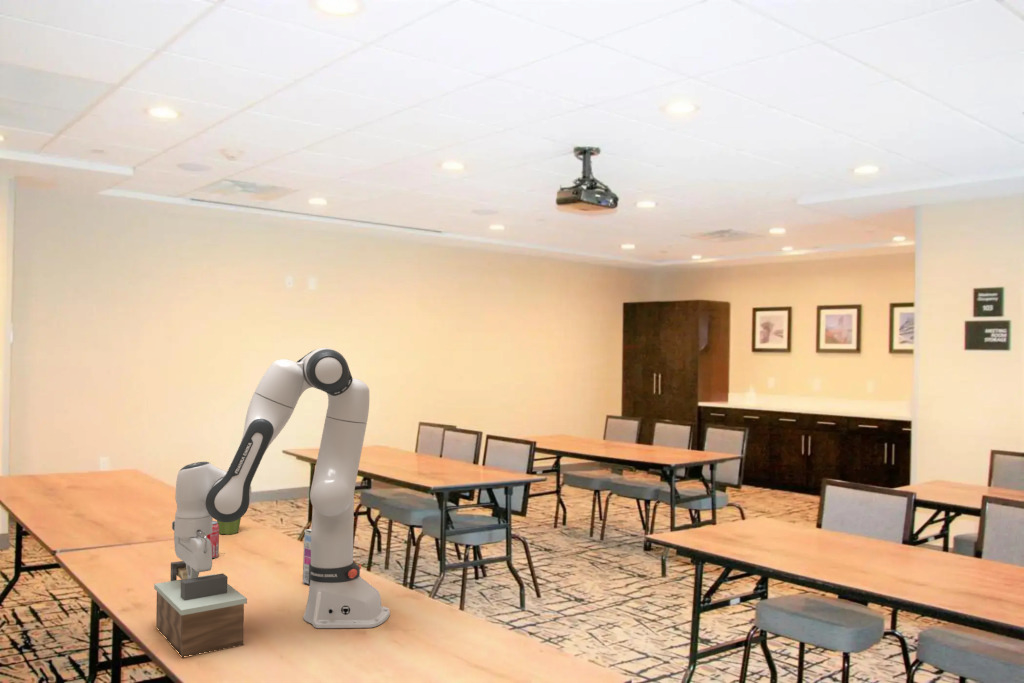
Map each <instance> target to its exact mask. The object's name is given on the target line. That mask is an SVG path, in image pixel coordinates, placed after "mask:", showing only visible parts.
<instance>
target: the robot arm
mask: <svg viewBox="0 0 1024 683" xmlns="http://www.w3.org/2000/svg"><path fill="white" fill-rule="evenodd" d="M310 388H314V389H316V390H320V391H321V392H324V393H326V394H327V399H328V403H327V409H326V412H325V418H324V423H323V429H322V435H321V438H320V445H319V449H318V453H317V459H316V464H315V466H314V468H315V469H314V473H313V477H312V482H311V487H310V492H309V499H310V503H311V505H312V513H311V514H312V516H311V528H310V529H311V563H310V564H309V571H308V579H309V585H310V586H309V585H308V586H309V587H308V589H309V590H308V596H307V602H306V607H305V610H304V613H303V620H304V621H305V622H307V623H308V624H312V626H313V627H314V628H315V629H348V628H349V629H350V628H351V629H353V628H354V629H355V628H359V629H363V628H365V629H366V628H367V629H368V628H369V629H370V628H375V627H377V626H380V625H382V624H383V623H385V622H386V621H387V620H388V618H390V616H391V614H390V608H389V607H387V606H382V599H381V594H380V591H379V590H378V589H377V588H376V587H374V586H373V585H372V584H370V583H369V582H368V581H367V580H365V579H364V578H363V577H361V575H360V574H361V569H362V564H361V563H360V564H359V565H358V564H357V563H356V562H355V561H354V521H355V520H354V517H355V515H354V514H355V513H354V512H355V489H356V485H357V478H358V474H359V472H358V471H359V467H360V463H361V462H360V461H361V456H362V450H363V446H364V440H365V436H366V435H365V434H366V430H367V425H368V420H369V419H368V418H369V412H370V388H369V386H368V385H367V384H366V382H364V381H362V380H361V379H359V378H354V377H353V376H352V374H351V370H350V367H349V364H348V362H347V360H346V358H345V356H344V355H343V354H341V352H339V351H336V350H335V349H333V348H328V347H320V348H317V349H314V350H311V351H310V352H308V353H307V354H305V355H304V356H303V357H301V358H300V359H298V360H297V361H294V360H291V359H286V358H281V359H276V360H274V361H273V362H272V363H271V365H269V367H268V368H267V369H266V371H265V372H264V374H263V376H262V377H261V379H260V380H259V383H258V384H257V386H256V388H255V390H254V392H253V394H252V396H251V399H250V401H249V405H248V408H247V411H246V415H245V416H246V417H245V421H244V428H243V433H242V437H241V441H240V442H239V446H238V448H237V450H236V452H235V454H234V456H233V459H232V461H231V463H230V465H229V467H228V469H227V471H226V470H223V469H220V468H219V467H216V466H215V465H213V464H212V463H211V462H209V461H198V462H194V463H190V464H186V465H184V466H182V467H181V469H180V470H179V471H178V473H177V477H176V482H175V499H174V500H175V503H176V512H175V515H174V520H173V521H172V522H171V529H172V531H173V537H174V538H173V541H174V552H175V555H176V557H177V558H178V559H180V561H184V562H185V563H186V569H187V573H188V579H191V578H198V577H199V576H200V575H199V574H200V573H202V572H203V573H205V572H210V571H211V570H212V568H213V559H212V546H211V541H210V540H209V539H208V538H207V535H209V534H211V533H212V522H213V521H214V520H215V521H217V520H218V521H220V522H233V521H236V520H238V519H240V518H241V519H242V517H243V516H244V515H245V514H246V513H247V512H248V509H249V506H250V499H251V496H252V486H251V484H252V482H253V479H254V477H255V475H256V472H257V471H258V468H259V465H260V464H261V461H262V459H263V458H264V455H265V453H266V452H267V450H268V448H269V447H270V446H271V444H272V443H273V442H274V440H276V438H277V437H278V435H279V434H280V433H281V432H282V430H283V429H284V428H285V427H286V426H287V424H288V422H289V420H290V418H291V416H292V415H293V413H294V411H295V408H296V407H297V404H298V402H299V399H300V398H301V397H302V395H303V393H304V392H306V390H308V389H310ZM213 519H214V520H213Z"/></svg>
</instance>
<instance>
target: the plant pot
mask: <svg viewBox="0 0 1024 683" xmlns="http://www.w3.org/2000/svg"><path fill="white" fill-rule="evenodd" d="M241 520H242V517H241V518H240V519H238V520H236V521H233V522H220V521H218V520H216V521H217V522H218V525H219V535H223V534H224V535H226V536H227V535H228V536H229V535H234V534H237V533H239V532H240V531H239V530H240V525H241Z"/></svg>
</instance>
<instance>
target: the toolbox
mask: <svg viewBox="0 0 1024 683" xmlns="http://www.w3.org/2000/svg"><path fill="white" fill-rule="evenodd" d="M184 566H186V563H185V562H184V561H182V560H180V561H173V562H170V581H175V580H178V579H177V577H178V576H177V567H184ZM155 612H156V613H155V614H156V619H155V620H156V623H155V628H156V627H157V628H158V629H159V631H160V632H161V633H162V634H163V635H164V636H165V637H166V638H167V640H168V641H169V642H170V643H171V645H172V646H173V647H174V648H175V649H176V650H177V651H178V652H179V654H180V655H181V656H182V657H184V656H189V655H195V656H197V655H196V654H199V653H204V652H208V653H210V652H209V651H213V652H215V651H214V650H217V651H220V650H219V649H222V650H224V649H223V648H227V649H230V648H229V647H231V648H234V647H233V646H236V647H240V646H244V626H245V624H244V618H245V616H244V615H245V604H240V605H235V606H229V607H224V608H219V609H213V610H208V611H203V612H197V613H192V614H187V615H180V614H179V613H178V612H177V611H176V610H175V609H174V608H173V607H172V606H171V605H170V604H169V603H168V602H167V601H166V600H165V599H164V598H163V597H162V596H161V595H160V594H159V593H158V592H157V591H156V611H155ZM159 631H158V632H159ZM160 632H159V633H160ZM161 633H160V634H161ZM162 634H161V635H162ZM167 640H166V641H167ZM168 641H167V642H168ZM169 642H168V643H169ZM171 645H170V646H171ZM239 645H240V646H239ZM172 646H171V647H172ZM173 647H172V648H173ZM174 648H173V649H174ZM175 649H174V650H175ZM179 654H178V655H179ZM204 654H205V653H204ZM180 655H179V656H180ZM199 655H200V654H199ZM181 656H180V657H181Z"/></svg>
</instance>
